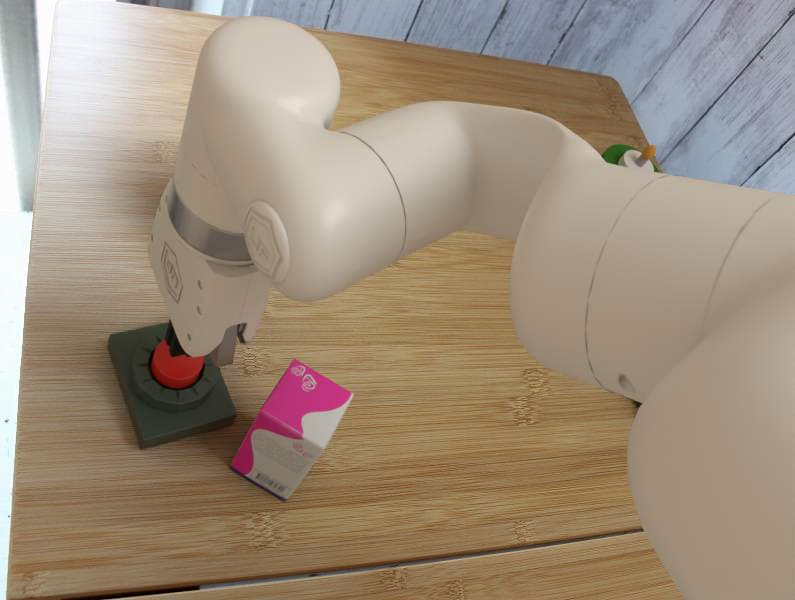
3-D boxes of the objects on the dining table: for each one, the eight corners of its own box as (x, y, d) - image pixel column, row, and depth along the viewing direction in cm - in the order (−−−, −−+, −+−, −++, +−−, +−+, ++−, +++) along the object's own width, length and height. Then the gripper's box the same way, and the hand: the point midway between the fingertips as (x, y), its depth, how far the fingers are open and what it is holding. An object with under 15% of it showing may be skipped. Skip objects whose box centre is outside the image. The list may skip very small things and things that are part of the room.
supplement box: (316, 448, 74) (358, 394, 65) (285, 503, 71) (324, 454, 62) (261, 414, 74) (294, 355, 65) (226, 468, 70) (257, 413, 62)
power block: (232, 425, 73) (242, 406, 70) (140, 450, 69) (146, 432, 66) (195, 327, 76) (203, 305, 73) (106, 346, 72) (110, 323, 69)
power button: (206, 382, 70) (210, 373, 69) (159, 394, 68) (162, 384, 67) (191, 341, 71) (195, 331, 70) (145, 351, 69) (147, 341, 68)
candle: (582, 212, 104) (628, 161, 96) (578, 164, 109) (621, 111, 101) (639, 230, 106) (688, 182, 98) (632, 182, 111) (679, 132, 103)
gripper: (135, 117, 53) (112, 275, 67) (213, 316, 47) (169, 442, 61) (246, 108, 56) (202, 260, 71) (330, 291, 51) (263, 416, 65)
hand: (187, 344), depth 66 cm, fingers closed
